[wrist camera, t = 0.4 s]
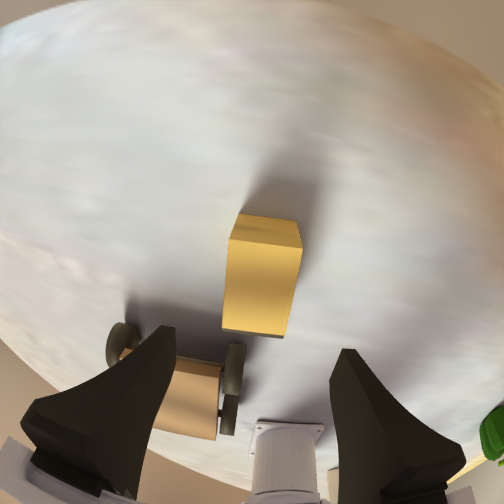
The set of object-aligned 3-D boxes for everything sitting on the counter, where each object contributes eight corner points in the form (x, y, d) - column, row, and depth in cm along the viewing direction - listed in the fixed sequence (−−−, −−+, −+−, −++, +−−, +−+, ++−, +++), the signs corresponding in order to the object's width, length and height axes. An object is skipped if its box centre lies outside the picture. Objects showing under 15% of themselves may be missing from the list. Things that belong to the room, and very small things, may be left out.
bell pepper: (515, 391, 28) (538, 433, 19) (507, 413, 31) (526, 451, 22) (475, 417, 30) (495, 463, 21) (471, 436, 33) (487, 477, 24)
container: (337, 483, 38) (341, 544, 26) (325, 470, 35) (330, 540, 24) (379, 471, 36) (389, 532, 24) (373, 457, 34) (385, 527, 22)
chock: (281, 301, 23) (283, 342, 19) (230, 294, 23) (221, 334, 19) (296, 220, 20) (303, 248, 16) (238, 213, 21) (228, 239, 16)
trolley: (237, 410, 29) (232, 446, 25) (138, 391, 29) (124, 423, 25) (247, 334, 25) (242, 375, 20) (122, 313, 25) (99, 346, 20)
